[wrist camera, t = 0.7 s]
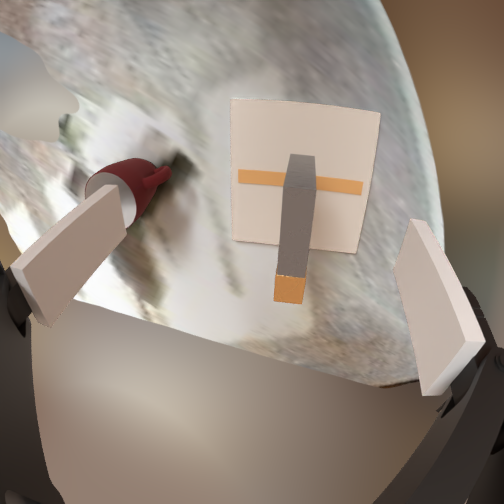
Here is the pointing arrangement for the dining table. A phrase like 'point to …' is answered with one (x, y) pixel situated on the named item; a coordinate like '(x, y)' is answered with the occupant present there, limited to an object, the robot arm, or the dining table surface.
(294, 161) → the grey slab
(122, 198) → the mug
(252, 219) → the post base
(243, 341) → the dining table surface
